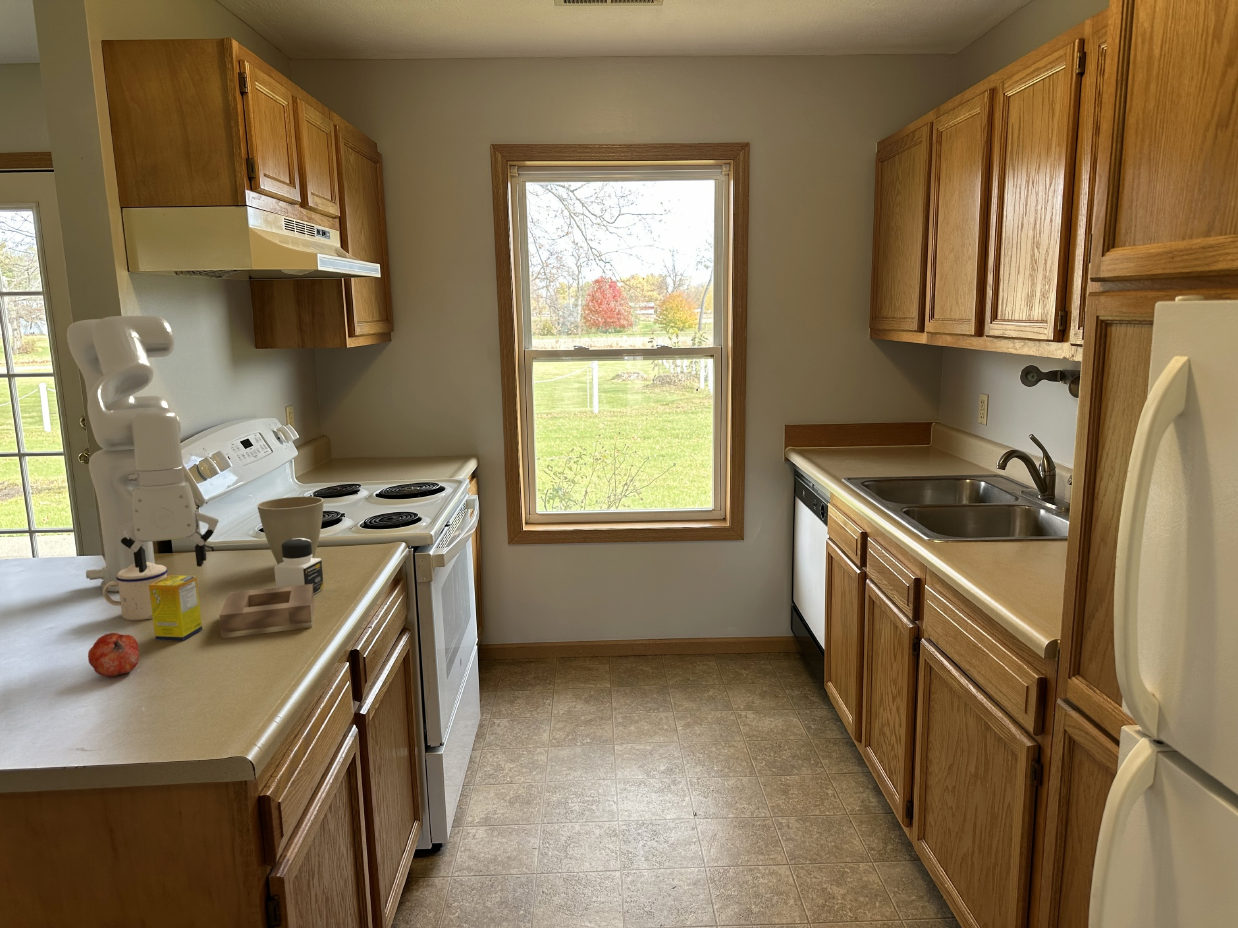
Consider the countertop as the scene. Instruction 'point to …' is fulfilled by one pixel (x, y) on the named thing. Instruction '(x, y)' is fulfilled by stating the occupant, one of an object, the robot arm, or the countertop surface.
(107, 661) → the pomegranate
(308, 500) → the plant pot
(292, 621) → the wooden square frame
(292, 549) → the medicine bottle
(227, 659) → the countertop surface
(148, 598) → the teacup with lid
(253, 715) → the countertop surface
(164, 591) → the supplement box
